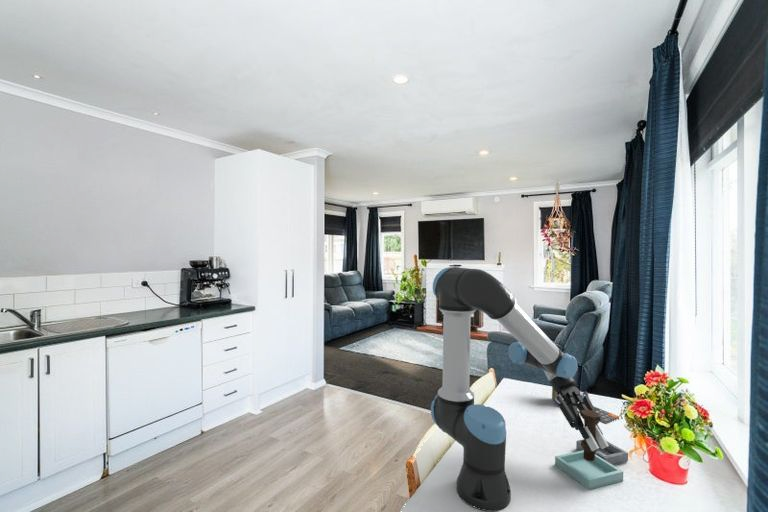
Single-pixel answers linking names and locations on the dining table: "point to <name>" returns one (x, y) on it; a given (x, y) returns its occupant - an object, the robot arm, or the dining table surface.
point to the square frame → (615, 453)
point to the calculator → (605, 415)
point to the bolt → (590, 422)
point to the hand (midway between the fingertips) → (600, 448)
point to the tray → (589, 470)
